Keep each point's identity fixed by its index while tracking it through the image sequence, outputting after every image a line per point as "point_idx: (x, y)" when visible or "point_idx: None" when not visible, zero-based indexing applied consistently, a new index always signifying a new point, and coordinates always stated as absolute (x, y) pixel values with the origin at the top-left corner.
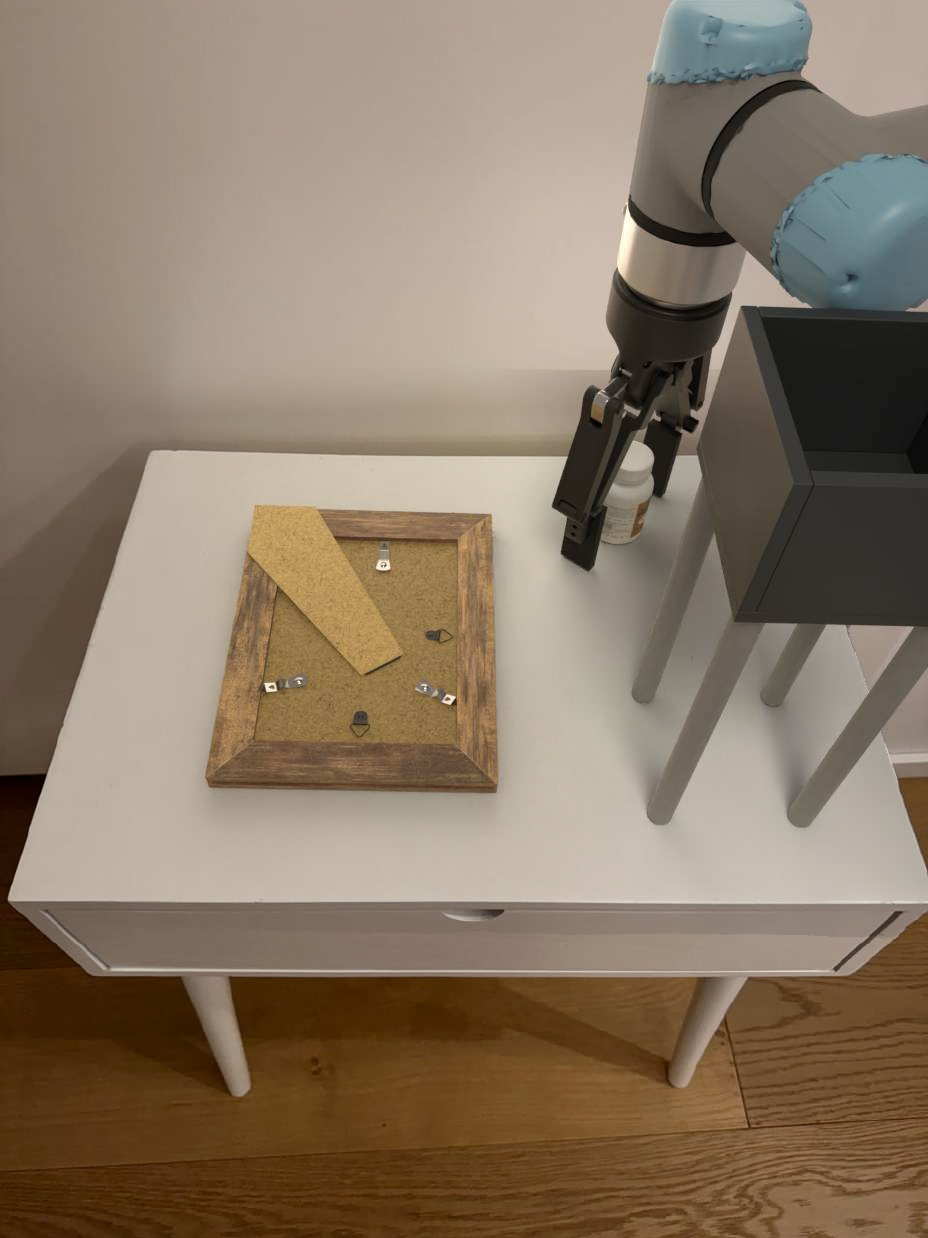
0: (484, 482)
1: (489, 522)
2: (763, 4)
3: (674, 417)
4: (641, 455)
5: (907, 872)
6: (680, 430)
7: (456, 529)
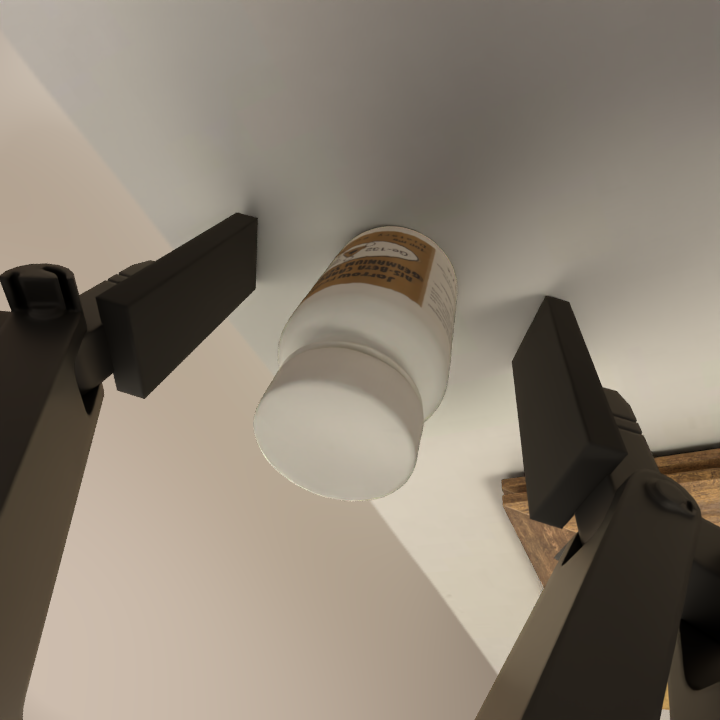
0: (401, 494)
1: (527, 504)
2: None
3: (73, 378)
4: (311, 420)
5: None
6: (83, 293)
7: (563, 539)
